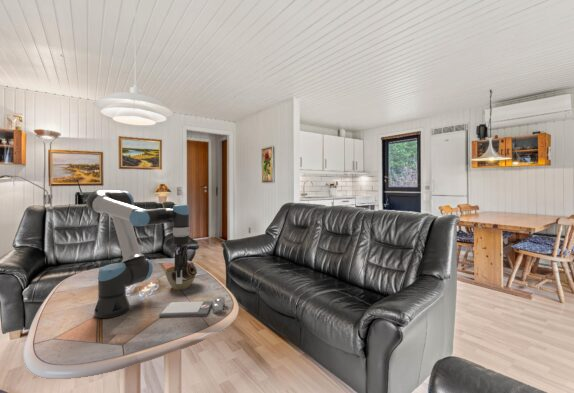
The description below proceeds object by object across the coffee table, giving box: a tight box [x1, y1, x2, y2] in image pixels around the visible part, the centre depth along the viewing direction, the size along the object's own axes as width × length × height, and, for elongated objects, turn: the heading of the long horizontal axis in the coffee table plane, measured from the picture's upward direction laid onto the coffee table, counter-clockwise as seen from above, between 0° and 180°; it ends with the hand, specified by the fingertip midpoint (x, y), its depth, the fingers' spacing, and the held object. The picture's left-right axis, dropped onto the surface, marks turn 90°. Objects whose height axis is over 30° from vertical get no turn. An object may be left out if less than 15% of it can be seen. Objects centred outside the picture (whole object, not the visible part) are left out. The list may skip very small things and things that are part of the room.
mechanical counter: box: [171, 261, 198, 282], centre depth 139 cm, size 7×13×10 cm, turn 93°
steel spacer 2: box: [212, 301, 224, 315], centre depth 137 cm, size 5×5×4 cm
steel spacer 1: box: [214, 296, 226, 308], centre depth 144 cm, size 5×5×4 cm
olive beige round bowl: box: [165, 265, 198, 291], centre depth 171 cm, size 18×18×12 cm
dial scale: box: [158, 300, 214, 318], centre depth 139 cm, size 22×15×2 cm
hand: (181, 281), depth 139 cm, fingers closed on mechanical counter, 6 cm apart
